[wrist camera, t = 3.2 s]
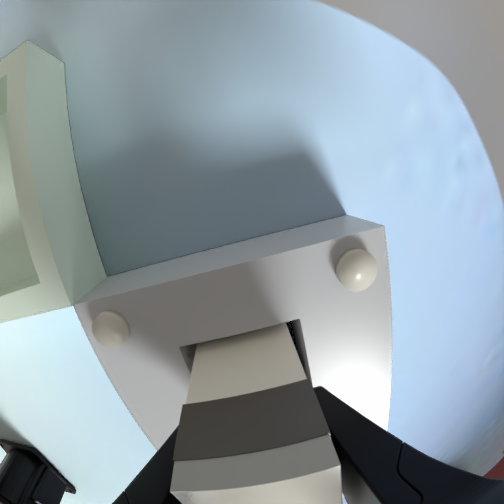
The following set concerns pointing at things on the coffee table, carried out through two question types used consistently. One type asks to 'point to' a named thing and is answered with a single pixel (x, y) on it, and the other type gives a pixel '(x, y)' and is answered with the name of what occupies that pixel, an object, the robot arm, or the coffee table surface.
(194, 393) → the block
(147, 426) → the fuse block
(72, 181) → the parts tray
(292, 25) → the coffee table surface
